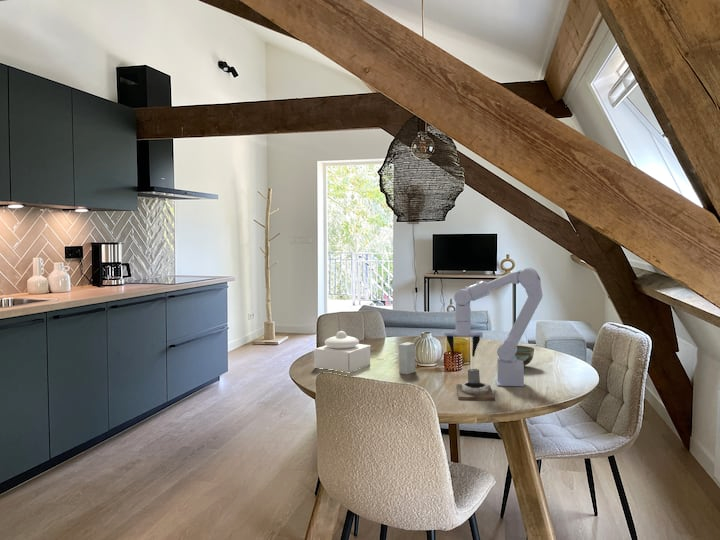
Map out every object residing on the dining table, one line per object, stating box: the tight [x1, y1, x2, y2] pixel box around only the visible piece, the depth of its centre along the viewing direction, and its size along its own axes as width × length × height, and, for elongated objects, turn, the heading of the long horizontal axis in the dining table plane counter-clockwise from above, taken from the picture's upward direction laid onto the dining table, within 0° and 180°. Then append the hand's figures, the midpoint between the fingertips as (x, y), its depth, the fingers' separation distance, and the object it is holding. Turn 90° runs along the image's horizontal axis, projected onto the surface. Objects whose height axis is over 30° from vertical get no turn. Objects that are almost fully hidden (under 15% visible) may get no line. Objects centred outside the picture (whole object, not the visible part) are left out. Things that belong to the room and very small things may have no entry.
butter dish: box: [313, 330, 372, 373], centre depth 230 cm, size 18×18×16 cm
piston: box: [467, 368, 481, 388], centre depth 188 cm, size 4×4×7 cm
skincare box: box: [398, 341, 416, 376], centre depth 219 cm, size 6×4×12 cm
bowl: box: [515, 345, 535, 369], centre depth 226 cm, size 14×13×8 cm
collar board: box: [455, 381, 496, 401], centre depth 188 cm, size 12×16×3 cm
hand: (463, 355), depth 206 cm, fingers open, 7 cm apart
